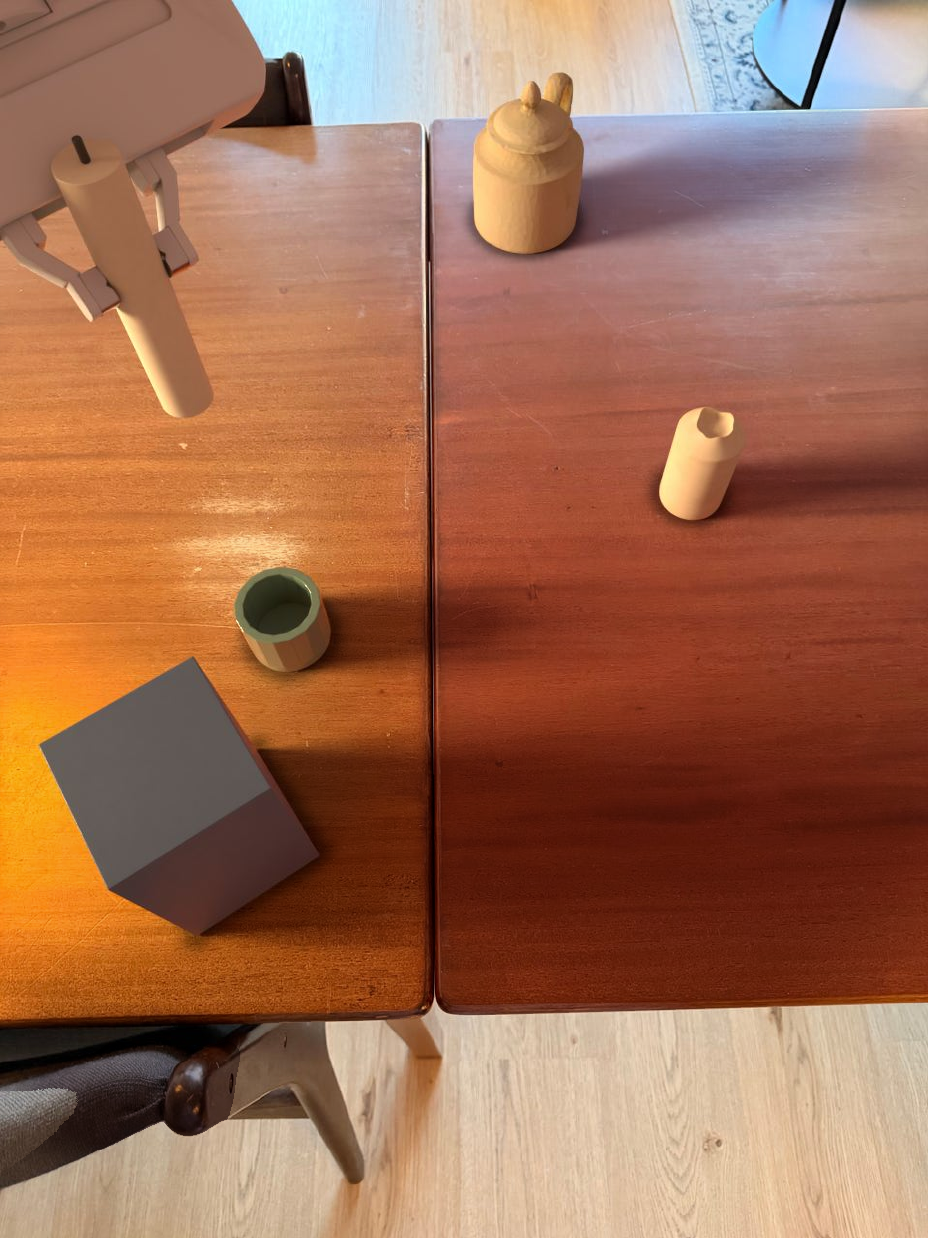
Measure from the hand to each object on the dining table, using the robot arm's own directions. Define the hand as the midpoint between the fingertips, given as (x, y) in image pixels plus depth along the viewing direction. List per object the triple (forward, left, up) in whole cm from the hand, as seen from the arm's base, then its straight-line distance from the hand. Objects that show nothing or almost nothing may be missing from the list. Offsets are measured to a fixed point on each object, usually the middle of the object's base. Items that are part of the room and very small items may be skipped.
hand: (146, 291), depth 41 cm
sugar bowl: (+46, +32, -37) cm, 67 cm away
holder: (0, +1, -37) cm, 37 cm away
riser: (-12, -11, -37) cm, 40 cm away
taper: (0, +1, -8) cm, 8 cm away
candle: (+36, -7, -37) cm, 52 cm away
